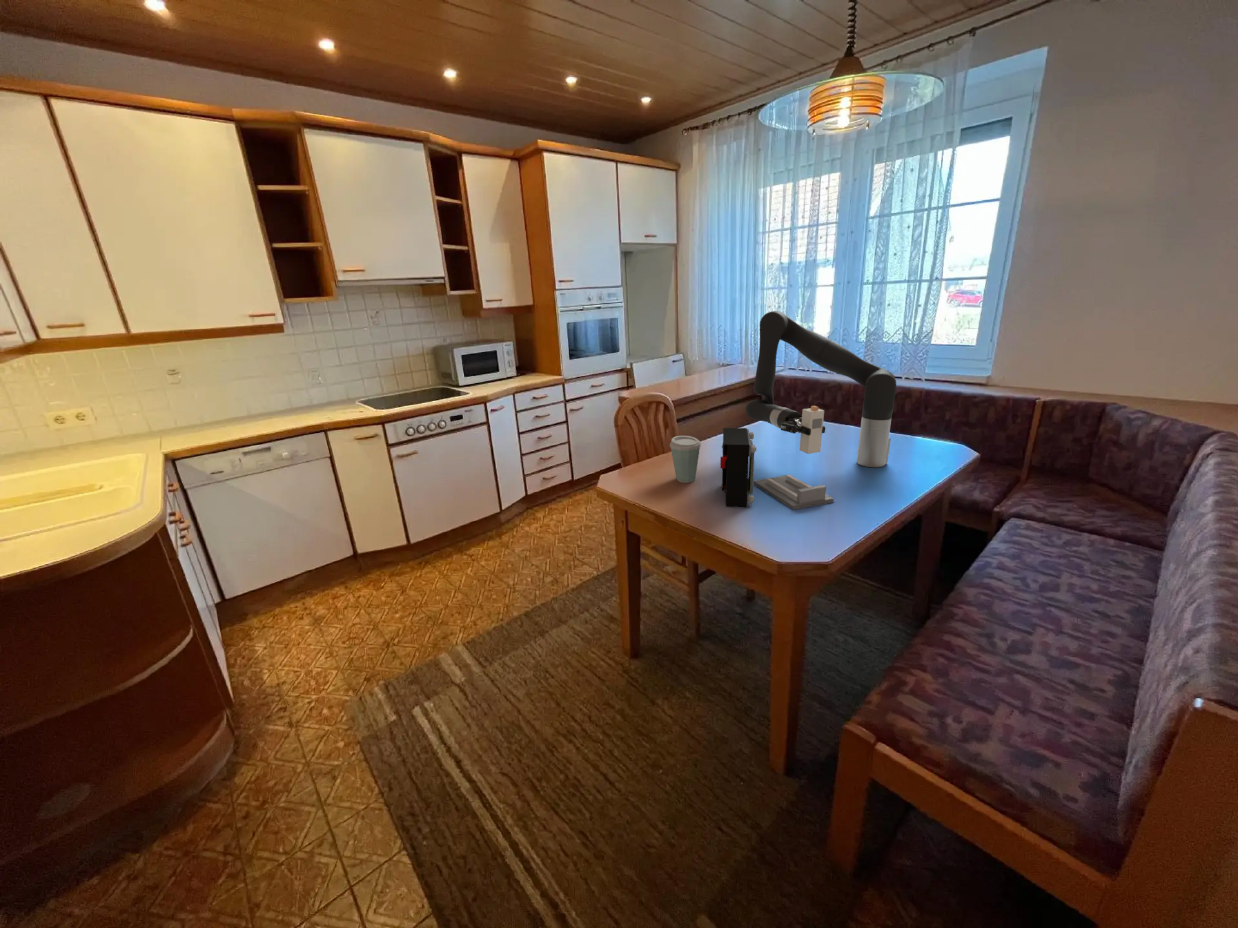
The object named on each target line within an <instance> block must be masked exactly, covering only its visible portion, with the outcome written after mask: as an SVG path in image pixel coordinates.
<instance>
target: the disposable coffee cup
mask: <svg viewBox="0 0 1238 928" xmlns="http://www.w3.org/2000/svg"><path fill="white" fill-rule="evenodd" d="M669 448H670V451H671V456H672V462H673V468H674V472H675V473H674V474H675V478H676V480H677V481H678V482H680V483H682V484H688V483H689V484H690V483H692V482H694V481H695V479H696V475H697V470H698V469H697V468H698V461H699V455H700V448H701V441H700V440H699V439H698V438H696V437H694V436H690V435H676V436H674V437H672V438H671V441H670V443H669Z"/></svg>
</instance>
